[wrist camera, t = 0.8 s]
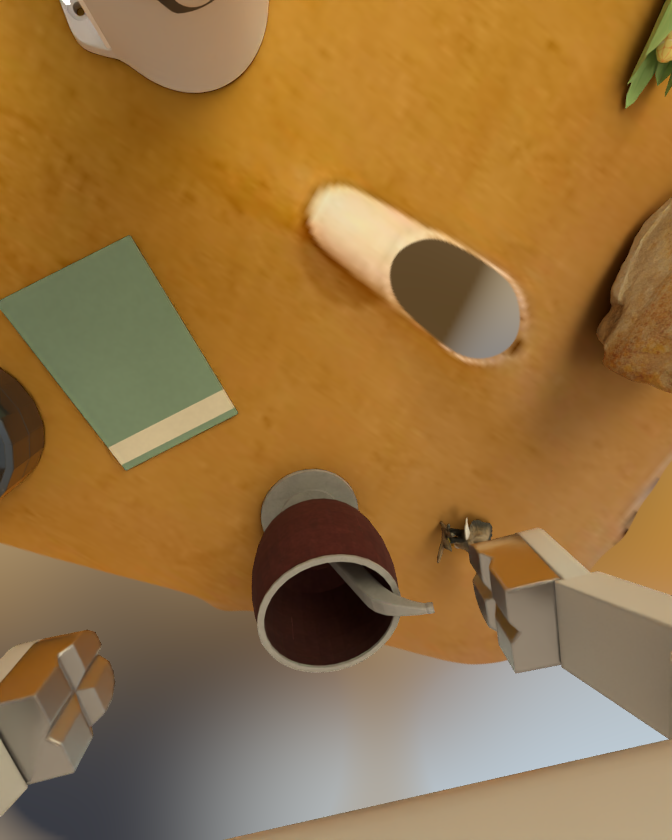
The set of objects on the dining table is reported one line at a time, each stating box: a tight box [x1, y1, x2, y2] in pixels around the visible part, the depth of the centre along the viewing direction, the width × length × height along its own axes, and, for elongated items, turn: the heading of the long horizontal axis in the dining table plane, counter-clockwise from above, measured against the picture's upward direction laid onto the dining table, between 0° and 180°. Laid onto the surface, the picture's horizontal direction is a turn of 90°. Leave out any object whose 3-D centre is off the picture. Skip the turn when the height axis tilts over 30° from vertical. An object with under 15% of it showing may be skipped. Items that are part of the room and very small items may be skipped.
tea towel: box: [0, 235, 238, 470], centre depth 41 cm, size 20×14×1 cm
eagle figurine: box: [437, 518, 492, 563], centre depth 54 cm, size 8×7×9 cm
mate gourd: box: [252, 469, 435, 672], centre depth 42 cm, size 16×14×20 cm
